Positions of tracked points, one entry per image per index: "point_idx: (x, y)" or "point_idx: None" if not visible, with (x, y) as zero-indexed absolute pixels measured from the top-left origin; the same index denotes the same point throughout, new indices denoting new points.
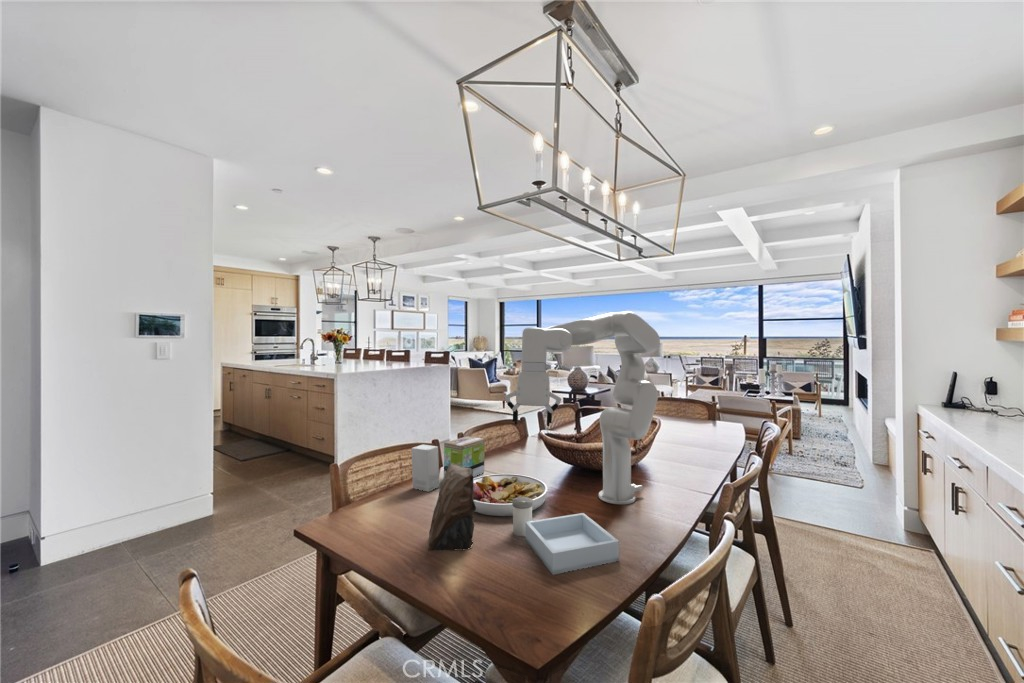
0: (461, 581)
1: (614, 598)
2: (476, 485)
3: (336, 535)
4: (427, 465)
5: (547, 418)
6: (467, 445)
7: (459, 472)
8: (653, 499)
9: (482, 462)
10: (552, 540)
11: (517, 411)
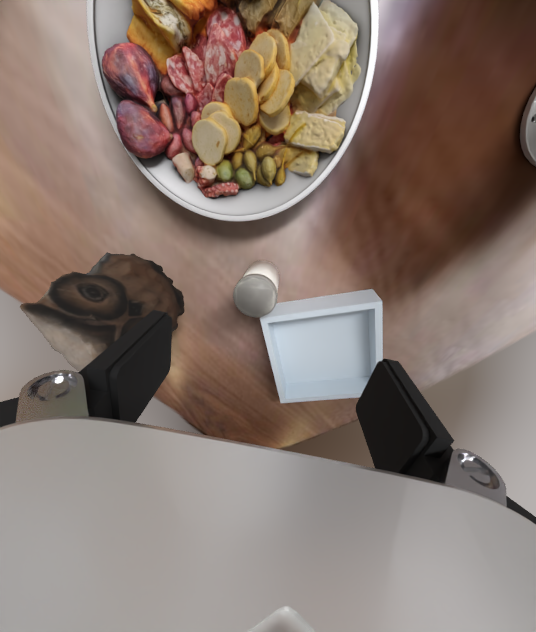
0: (182, 376)
1: (330, 423)
2: (136, 71)
3: None
4: None
5: (372, 452)
6: None
7: (79, 369)
8: None
9: None
10: (302, 326)
11: (117, 416)
